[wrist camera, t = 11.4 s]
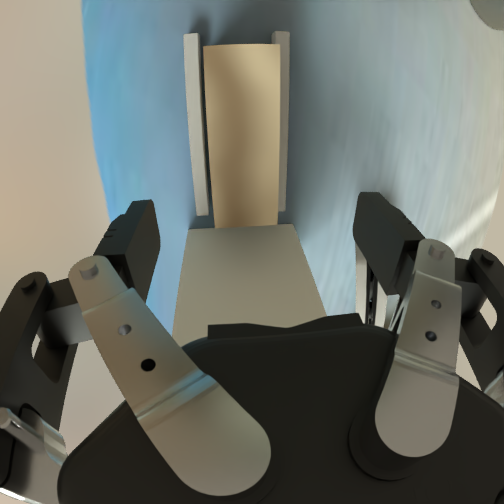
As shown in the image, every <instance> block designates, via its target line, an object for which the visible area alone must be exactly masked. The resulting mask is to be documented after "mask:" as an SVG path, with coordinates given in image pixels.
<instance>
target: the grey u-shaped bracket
mask: <svg viewBox="0 0 504 504" xmlns="http://www.w3.org/2000/svg"><path fill="white" fill-rule="evenodd" d="M271 38H272V44H280V148H279V192H278V212H282V211H285V202H286V179H287V153H288V119H289V51H290V32H286V31H275V32H273V33H272V34H271ZM184 61H185V81H186V99H187V114H188V128H189V140H190V152H191V163H192V174H193V184H194V194H195V203H196V212H197V216H203V215H209V206H210V203H209V191H208V178H207V165H206V151H205V136H204V119H203V101H202V80H201V54H200V35H199V34H198V33H192V34H184ZM324 316H327V315H326V312H325V309H324V306H323V304H322V301H321V298H320V295H319V292H318V290H317V287H316V284H315V281H314V279H313V276H312V273H311V270H310V268H309V265H308V262H307V260H306V257H305V254H304V252H303V249H302V246H301V244H300V241H299V238H298V236H297V233H296V231H295V228H294V226H293V224H278V225H268V226H249V227H231V228H202V229H188V234H187V239H186V245H185V251H184V257H183V263H182V269H181V275H180V282H179V288H178V295H177V302H176V309H175V316H174V324H173V332H172V338H173V339H174V340H175V341H176V343H177V344H178V345H179V346H180V347H182V346H183V345H185V344H187V343H189V342H192V341H194V340H197V339H200V338H203V337H206V336H207V334H208V325H213V324H235V323H251V324H259V325H267V326H275V327H283V328H289V327H293V326H296V325H300V324H303V323H306V322H309V321H312V320H315V319H318V318H321V317H324Z"/></svg>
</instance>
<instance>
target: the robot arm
mask: <svg viewBox="0 0 504 504" xmlns="http://www.w3.org/2000/svg"><path fill="white" fill-rule="evenodd" d="M470 1H471V4H472V6H473V7H474V9H475V11H476V12H477V14H478V15H479V17H480V18H481V19H482V20H483V21H484V22H485V23H486V24H487V25H488V26H490V27H491V28H493V29H496V30H504V0H470ZM353 237H354V240H355V242H356V244H357V246H358V247H359V249H360V251H361V252H362V254H363V256H364V257H365V259H366V261H367V262H368V264H369V266H370V268H371V269H372V271H373V273H374V275H375V276H376V278H377V280H378V282H379V284H380V285H381V287H382V289H383V291H384V293H385V294H386V296H388V295H396V294H399V296H400V297H399V299H398V302H397V304H396V308H395V311H394V314H393V317H392V320H391V323H390V326H389V329H385V328H383V327H379V326H376V325H371V324H365V323H363V322H362V319H361V317H360V315H359V313H351V314H342V315H333V316H324V317H321V318H318V319H315V320H312V321H309V322H306V323H303V324H300V325H296V326H293V327H289V328H283V327H275V326H267V325H259V324H251V323H235V324H213V325H208V334H207V336H206V337H203V338H200V339H197V340H194V341H192V342H189V343H187V344H185V345H183V346H182V347H180V346H179V345H178V344H177V343H176V341H175V340H174V339H173V338H172V337H171V335H170V334H169V333H168V332H167V330H166V329H165V328H164V327H163V326H162V324H161V323H160V322H159V320H158V319H157V318H156V317H155V315H154V314H153V313H152V312H151V310H150V309H149V308H148V306H147V305H146V304H145V303H146V299H147V295H148V291H149V288H150V284H151V280H152V276H153V273H154V269H155V265H156V262H157V258H158V255H159V251H160V234H159V229H158V224H157V219H156V213H155V208H154V203H153V201H152V200H151V199H150V200H140V201H133V202H132V203H131V205H130V206H129V208H128V210H127V211H126V213H125V214H122V215H120V216H118V217H117V218H116V219H115V220H114V221H112V223H111V224H110V226H109V228H108V229H107V231H106V233H105V234H104V238H102V240H101V241H100V243H99V245H98V247H97V249H96V251H95V252H94V254H93V256H90V257H87V258H84V259H82V260H80V261H79V262H77V263H76V264H75V265H74V266H73V267H72V268H71V269H70V271H69V274H68V278H66V279H63V280H59V281H56V282H53V283H49V281H48V279H47V277H46V275H45V274H44V273H42V272H33V273H30V274H28V275H26V276H24V277H23V278H21V279H20V280H19V281H18V282H17V283H16V285H15V286H14V288H13V289H12V291H11V293H10V295H9V297H8V298H7V300H6V302H5V304H4V306H3V308H2V310H1V312H0V493H2V494H4V495H6V496H9V497H11V498H14V499H17V500H22V501H25V502H27V503H30V504H504V266H503V264H502V263H501V262H500V261H499V259H498V258H497V257H496V256H495V255H493V254H492V253H490V252H488V251H486V250H484V249H479V248H477V249H474V250H473V251H472V252H471V255H470V257H469V260H466V259H460V258H455V255H454V252H453V251H452V249H451V248H450V247H448V246H447V245H446V244H444V243H442V242H440V241H438V240H434V239H426V238H425V237H424V236H423V235H422V234H421V232H420V231H419V230H418V229H417V228H416V227H415V226H414V225H413V224H412V222H411V221H410V220H409V219H408V218H406V216H405V215H404V214H403V213H402V212H401V210H399V209H398V208H396V207H394V206H393V205H391V204H390V203H389V202H388V201H387V200H386V199H385V198H384V197H383V196H382V195H381V194H380V193H379V192H361V193H360V194H359V196H358V201H357V207H356V213H355V218H354V224H353ZM487 298H488V300H489V301H490V303H491V304H492V305H493V307H494V308H495V310H496V313H497V321H496V324H495V326H494V327H493V329H492V330H491V329H490V328H489V326H488V324H487V323H486V321H485V319H484V318H483V316H482V314H481V313H480V309H481V307H482V306H483V304H484V302H485V300H486V299H487ZM36 334H37V335H38V336H39V338H40V342H39V345H38V348H37V350H36V353H35V356H34V359H33V357H32V350H31V347H32V344H33V341H34V338H35V336H36ZM91 339H93V340H94V342H95V344H96V346H97V348H98V350H99V352H100V354H101V356H102V358H103V360H104V362H105V364H106V366H107V368H108V369H109V371H110V373H111V375H112V377H113V378H114V380H115V382H116V384H117V386H118V387H119V389H120V391H121V392H122V394H123V396H124V398H125V400H124V401H123V402H122V403H121V404H120V405H119V406H118V407H117V408H116V409H115V410H114V411H113V412H112V413H111V414H110V415H109V416H108V417H107V418H106V419H105V420H104V421H103V422H102V423H101V424H100V425H99V426H98V427H97V428H96V429H95V430H94V431H93V432H92V433H91V434H90V435H89V436H88V437H87V438H86V439H85V440H84V441H83V442H82V443H80V445H78V446H77V447H76V448H75V449H74V450H73V451H72V452H71V453H70V454H69V456H68V455H67V453H66V446H65V442H64V439H63V437H62V435H61V434H60V433H59V427H60V421H61V416H62V410H63V405H64V400H65V395H66V391H67V386H68V382H69V377H70V373H71V369H72V365H73V361H74V357H75V354H76V350H77V346H78V343H79V342H83V341H87V340H91ZM459 342H460V344H461V346H462V348H463V350H464V352H465V354H466V357H467V359H468V361H469V363H470V365H471V367H472V370H473V372H474V374H475V376H476V378H477V381H478V383H479V385H480V387H481V390H482V391H481V390H479V389H478V388H476V387H475V386H473V385H472V384H470V383H469V382H468V381H466V380H464V379H463V378H462V377H460V376H459V375H457V374H456V372H455V369H456V361H457V353H458V345H459Z"/></svg>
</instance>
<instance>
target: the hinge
mask: <svg viewBox="0 0 504 504" xmlns="http://www.w3.org/2000/svg"><path fill="white" fill-rule="evenodd" d="M355 247H356V313H359V315H360V317H361V319H362V322H363V323H365V324H368V318H369V324H371V325H376V326H379V327H383V326H384V320H385V313H386V304H387V296H386V294H385V293H384V291H383V289H382V287H381V285H380V284H379V282H378V280H377V278H376V276H375V275H374V277H373V278H372V279H370V266H369V264H368V262H367V261H366V259H365V257H364V256H363V254H362V252H361V251H360V249H359V247H358V246H357V244H356V242H355ZM371 299H372V302H369V301H370V300H371Z"/></svg>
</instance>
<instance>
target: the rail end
mask: <svg viewBox="0 0 504 504" xmlns="http://www.w3.org/2000/svg"><path fill="white" fill-rule="evenodd" d="M203 54H204V78H205V98H206V116H207V132H208V147H209V161H210V175H211V187H212V200H213V211H214V222H215V228H231V227H249V226H268V225H278V192H279V148H280V44H230V45H212V46H203Z"/></svg>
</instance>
